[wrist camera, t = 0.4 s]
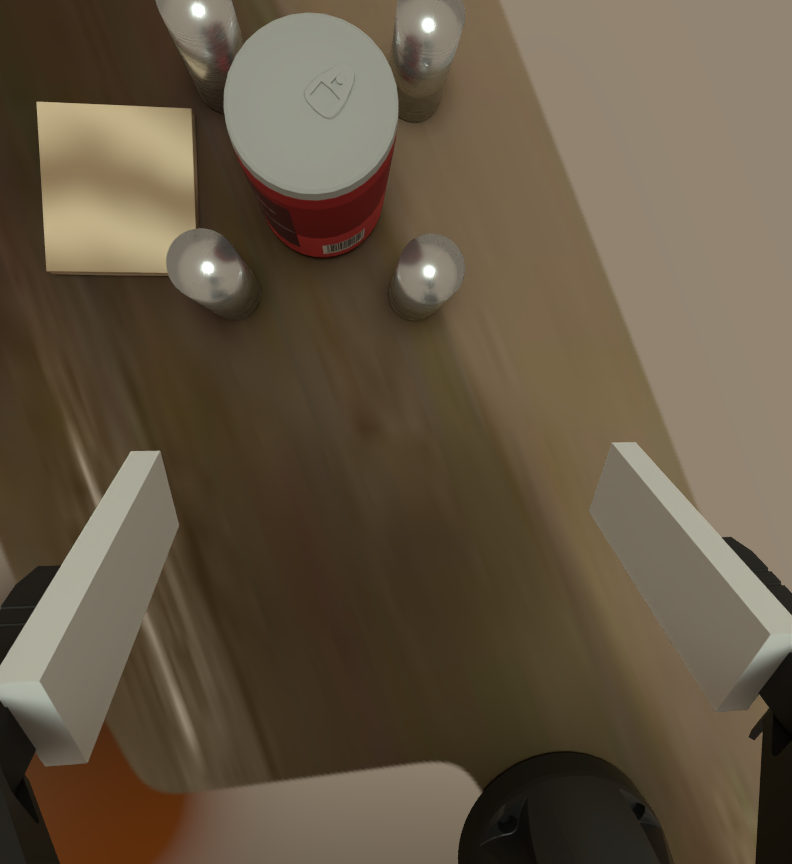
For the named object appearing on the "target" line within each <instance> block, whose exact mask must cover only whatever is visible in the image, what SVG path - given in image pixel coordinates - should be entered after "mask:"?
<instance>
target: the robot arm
mask: <svg viewBox="0 0 792 864" xmlns="http://www.w3.org/2000/svg"><path fill="white" fill-rule="evenodd" d="M589 513H590V514H591V516H592V517H593V519H594V520H595V522H596V524H597V525H598V527H599V528H600V530H601V532H602V533H603V535H604V536H605V538H606V540H607V541H608V543H609V544H610V546H611V548H612V549H613V551H614V552H615V554H616V555H617V557H618V559H619V560H620V562H621V563H622V565H623V567H624V568H625V570H626V571H627V573H628V575H629V576H630V578H631V579H632V581H633V583H634V584H635V586H636V587H637V589H638V590H639V592H640V594H641V595H642V597H643V598H644V600H645V602H646V603H647V605H648V606H649V608H650V610H651V611H652V613H653V614H654V616H655V617H656V619H657V621H658V622H659V624H660V625H661V627H662V629H663V630H664V632H665V633H666V635H667V637H668V638H669V640H670V641H671V643H672V645H673V646H674V648H675V649H676V651H677V652H678V654H679V656H680V657H681V659H682V660H683V662H684V664H685V665H686V667H687V668H688V670H689V672H690V673H691V675H692V676H693V678H694V680H695V681H696V683H697V684H698V686H699V687H700V689H701V691H702V692H703V694H704V695H705V697H706V699H707V700H708V702H709V703H710V705H711V707H712V708H713V710H714V711H715V712H726V711H739V710H747V709H748V708H749V707H750V705H751V704H752V703H753V701H754V700H755V699H756V697H757V696H758V695H759V694H760V696H761V697H762V698H763V700H764V701H765V702H766V704H767V705H768V707H769V709H768V710H767V712H766V713H765V714H764V715H763V716H762V718H761V719H760V720H759V721H758V723H757V724H756V725H755V726H754V728H753V729H752V730H751V733H750V735H749V738H751V739H753V740H755V739H756V738H757V737H758V735H759V734H760V733H761V732H763V738H762V756H761V774H760V792H759V810H758V828H757V845H756V863H755V864H792V593H791V592H790V591H789V590H788V589H787V588H786V587H785V586H783V585H781V581H780V580H779V579H778V578H777V577H776V576H775V575H774V574H773V573H772V572H771V571H770V572H769V571H768V567H767V566H766V565H765V564H764V563H763V562H762V561H761V560H760V559H759V558H758V557H757V556H756V555H755V554H754V553H753V552H752V551H751V550H750V549H748V548H747V547H745V546H744V545H742V544H741V543H739V542H738V541H736V540H735V539H733V538H732V537H720V535H719V534H717V532H716V531H715V530H714V529H713V528H712V527H711V525H710V524H709V523H708V522H707V521H706V520H705V519H704V518H703V516H702V515H701V514H700V513H699V512H698V511H697V510H696V509H695V508H694V507H693V505H692V504H691V503H690V502H689V501H688V500H687V499H686V498H685V497H684V495H683V494H682V493H681V492H680V491H679V490H678V489H677V488H676V487H675V485H674V484H673V483H672V482H671V481H670V480H669V479H668V478H667V477H666V475H665V474H664V473H663V472H662V471H661V470H660V469H659V468H658V467H657V466H656V464H655V463H654V462H653V461H652V460H651V459H650V458H649V457H648V456H647V454H646V453H645V452H644V451H643V450H642V449H641V448H640V447H639V446H638V444H637V443H636V442H623V443H611V446H610V449H609V452H608V455H607V458H606V461H605V465H604V468H603V471H602V474H601V477H600V480H599V483H598V486H597V489H596V492H595V495H594V498H593V501H592V504H591V507H590V510H589ZM178 527H179V523H178V519H177V516H176V512H175V508H174V504H173V500H172V496H171V492H170V488H169V484H168V480H167V476H166V472H165V468H164V464H163V460H162V456H161V452H160V451H131V452H130V454H129V455H128V457H127V459H126V460H125V462H124V464H123V465H122V467H121V469H120V470H119V472H118V473H117V475H116V477H115V478H114V480H113V482H112V483H111V485H110V487H109V488H108V490H107V491H106V493H105V495H104V496H103V498H102V500H101V501H100V503H99V505H98V506H97V508H96V509H95V511H94V513H93V514H92V516H91V518H90V519H89V521H88V523H87V524H86V526H85V528H84V529H83V531H82V532H81V534H80V536H79V537H78V539H77V541H76V542H75V544H74V546H73V547H72V549H71V550H70V552H69V554H68V555H67V557H66V559H65V560H64V562H63V564H62V565H60V566H38V567H37V568H35V569H34V570H33V571H32V572H31V573H29V574H28V575H27V576H26V577H25V578H23V579H22V580H21V581H20V582H19V583H17V584H16V585H15V587H14V588H13V590H12V591H11V592H10V594H9V595H8V597H7V598H6V600H5V601H4V603H3V604H2V606H1V610H0V864H60V862H59V860H58V857H57V854H56V852H55V849H54V846H53V844H52V841H51V838H50V836H49V833H48V830H47V828H46V825H45V822H44V820H43V817H42V815H41V812H40V809H39V806H38V803H37V801H36V798H35V795H34V793H33V790H32V787H31V785H30V782H29V780H28V779H27V777H26V776H25V772H26V770H27V768H28V766H29V764H30V761H31V759H32V757H33V755H34V753H35V752H36V754H37V755H38V757H39V758H40V759H41V761H42V762H43V764H44V765H45V766H56V765H69V764H82V763H88V760H89V758H90V755H91V753H92V750H93V747H94V745H95V742H96V740H97V737H98V734H99V732H100V729H101V726H102V724H103V721H104V719H105V716H106V714H107V711H108V708H109V706H110V703H111V701H112V698H113V695H114V693H115V690H116V688H117V685H118V682H119V680H120V677H121V675H122V672H123V669H124V667H125V664H126V662H127V659H128V656H129V654H130V651H131V649H132V646H133V643H134V641H135V638H136V636H137V633H138V630H139V628H140V625H141V623H142V620H143V617H144V615H145V612H146V610H147V607H148V604H149V602H150V599H151V597H152V594H153V591H154V589H155V586H156V584H157V581H158V578H159V576H160V573H161V571H162V568H163V565H164V563H165V560H166V558H167V555H168V553H169V550H170V547H171V545H172V542H173V540H174V537H175V534H176V532H177V529H178ZM458 864H674V861H673V858H672V855H671V852H670V849H669V846H668V844H667V841H666V838H665V835H664V832H663V829H662V827H661V825H660V823H659V821H658V819H657V817H656V815H655V813H654V812H653V810H652V809H651V807H650V806H649V804H648V803H647V801H646V800H645V799H644V797H643V796H642V795H641V793H640V792H639V791H638V789H637V788H636V787H635V785H634V784H633V783H632V782H631V780H630V779H629V778H628V777H627V776H626V775H625V774H624V773H622V772H621V771H620V770H619V769H617V768H616V767H614V766H613V765H611V764H609V763H607V762H605V761H603V760H601V759H598V758H596V757H593V756H589V755H585V754H579V753H553V754H547V755H542V756H538V757H535V758H532V759H529V760H527V761H524V762H522V763H520V764H518V765H516V766H514V767H513V768H511V769H509V770H508V771H506V772H505V773H503V774H502V775H501V776H499V777H498V778H497V779H496V780H495V781H493V782H492V783H491V784H490V785H489V786H488V787H487V788H486V789H485V791H484V792H483V793H482V794H481V795H480V797H479V798H478V800H477V801H476V802H475V804H474V806H473V807H472V809H471V811H470V813H469V815H468V817H467V819H466V821H465V824H464V827H463V830H462V833H461V838H460V842H459V850H458Z"/></svg>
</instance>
